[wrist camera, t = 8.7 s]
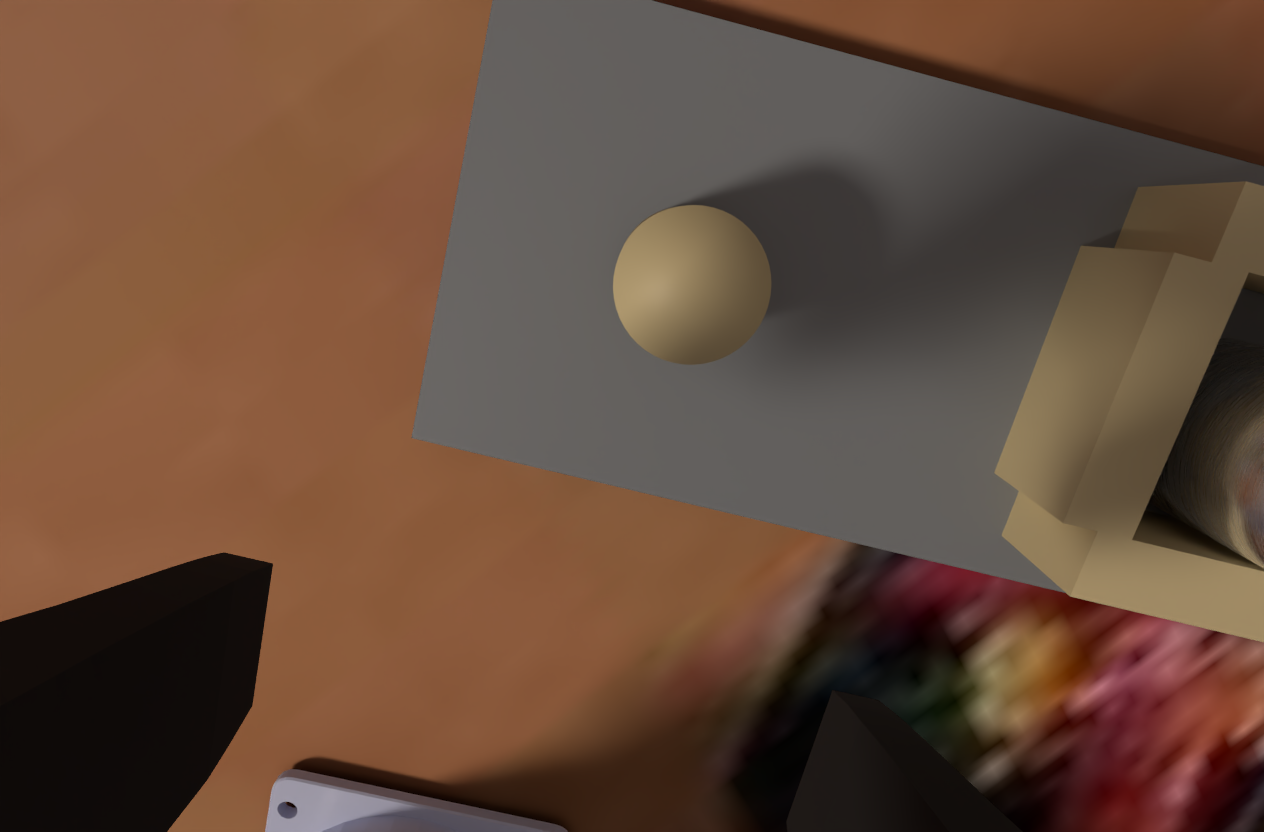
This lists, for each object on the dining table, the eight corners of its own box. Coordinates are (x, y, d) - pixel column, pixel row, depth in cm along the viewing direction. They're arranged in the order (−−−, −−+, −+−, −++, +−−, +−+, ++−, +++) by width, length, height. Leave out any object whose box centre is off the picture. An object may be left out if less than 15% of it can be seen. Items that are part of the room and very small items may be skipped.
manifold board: (1353, 647, 20) (1524, 751, 16) (423, 426, 19) (367, 481, 15) (1559, 258, 18) (1820, 271, 14) (508, -26, 16) (468, -100, 12)
